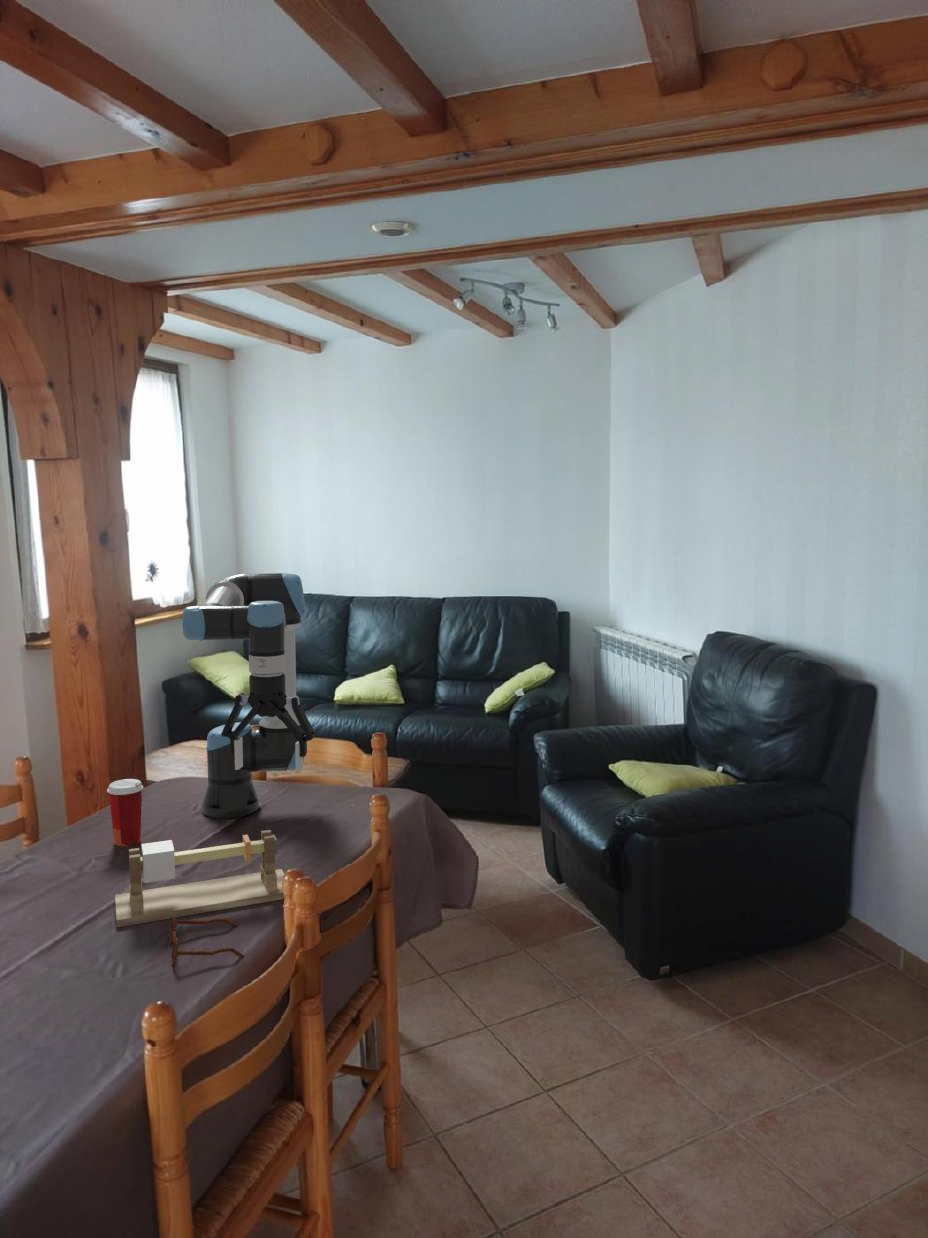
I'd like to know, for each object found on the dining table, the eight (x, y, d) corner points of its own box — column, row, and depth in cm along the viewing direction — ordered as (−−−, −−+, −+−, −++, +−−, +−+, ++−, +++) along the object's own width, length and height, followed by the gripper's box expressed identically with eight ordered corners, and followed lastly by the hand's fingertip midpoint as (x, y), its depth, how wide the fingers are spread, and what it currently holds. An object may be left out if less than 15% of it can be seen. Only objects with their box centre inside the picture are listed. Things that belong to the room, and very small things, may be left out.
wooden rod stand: (115, 901, 181) (112, 844, 179) (281, 875, 195) (280, 822, 193) (116, 927, 170) (114, 867, 169) (292, 897, 184) (292, 841, 182)
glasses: (169, 938, 167) (168, 913, 167) (238, 927, 172) (237, 903, 171) (171, 972, 155) (170, 946, 155) (245, 959, 160) (245, 934, 159)
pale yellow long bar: (132, 870, 178) (131, 850, 177) (274, 850, 189) (273, 831, 189) (133, 879, 174) (132, 858, 173) (278, 857, 185) (277, 838, 185)
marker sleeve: (142, 871, 180) (141, 844, 179) (172, 867, 182) (171, 840, 181) (144, 883, 174) (143, 855, 173) (175, 878, 177) (174, 850, 176)
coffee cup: (151, 836, 216) (148, 778, 214) (135, 849, 208) (133, 789, 206) (119, 834, 217) (116, 777, 215) (102, 847, 209) (99, 788, 207)
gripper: (204, 674, 182) (207, 771, 185) (318, 679, 179) (319, 777, 182) (218, 668, 189) (221, 761, 192) (328, 672, 186) (329, 767, 189)
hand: (269, 769), depth 187 cm, fingers open, 13 cm apart
